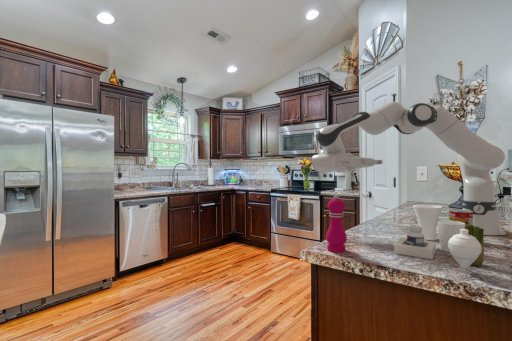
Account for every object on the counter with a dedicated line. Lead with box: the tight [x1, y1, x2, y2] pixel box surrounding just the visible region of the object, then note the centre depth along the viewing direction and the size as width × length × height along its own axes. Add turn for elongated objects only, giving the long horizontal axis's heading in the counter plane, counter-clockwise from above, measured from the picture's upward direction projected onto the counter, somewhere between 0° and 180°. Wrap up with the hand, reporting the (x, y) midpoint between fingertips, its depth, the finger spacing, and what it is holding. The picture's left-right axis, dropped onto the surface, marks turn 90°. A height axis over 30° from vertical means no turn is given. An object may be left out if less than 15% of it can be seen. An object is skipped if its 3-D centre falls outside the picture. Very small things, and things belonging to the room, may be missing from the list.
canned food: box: [448, 208, 473, 229], centre depth 115 cm, size 8×8×12 cm
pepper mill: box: [325, 193, 348, 254], centre depth 102 cm, size 7×7×20 cm
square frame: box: [393, 237, 437, 260], centre depth 99 cm, size 11×11×3 cm
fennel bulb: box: [466, 225, 485, 266], centre depth 87 cm, size 6×5×12 cm
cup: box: [412, 203, 444, 241], centre depth 118 cm, size 10×10×14 cm
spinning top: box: [448, 229, 482, 273], centre depth 80 cm, size 8×8×12 cm
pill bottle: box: [406, 225, 425, 247], centre depth 99 cm, size 5×5×9 cm
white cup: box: [437, 219, 465, 253], centre depth 101 cm, size 8×8×10 cm
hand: (379, 161), depth 118 cm, fingers open, 8 cm apart
